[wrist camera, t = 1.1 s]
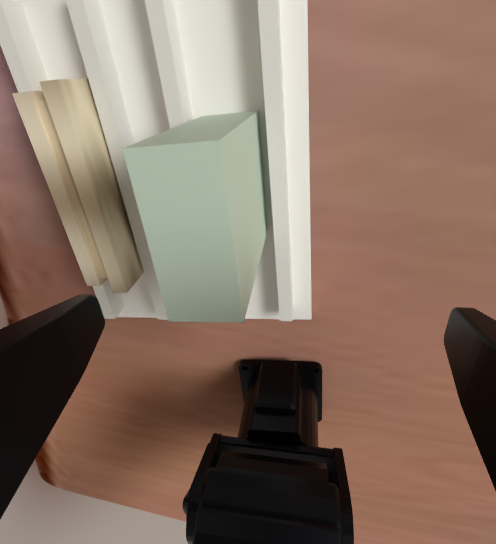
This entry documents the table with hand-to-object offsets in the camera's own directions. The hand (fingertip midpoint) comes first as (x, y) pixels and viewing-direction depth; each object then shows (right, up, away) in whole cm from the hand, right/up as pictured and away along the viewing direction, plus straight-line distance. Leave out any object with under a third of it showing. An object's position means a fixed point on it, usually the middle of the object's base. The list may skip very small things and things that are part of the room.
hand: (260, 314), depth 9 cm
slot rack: (-4, +7, +12) cm, 14 cm away
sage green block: (-1, +7, +10) cm, 12 cm away
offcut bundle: (-9, +6, +12) cm, 16 cm away
